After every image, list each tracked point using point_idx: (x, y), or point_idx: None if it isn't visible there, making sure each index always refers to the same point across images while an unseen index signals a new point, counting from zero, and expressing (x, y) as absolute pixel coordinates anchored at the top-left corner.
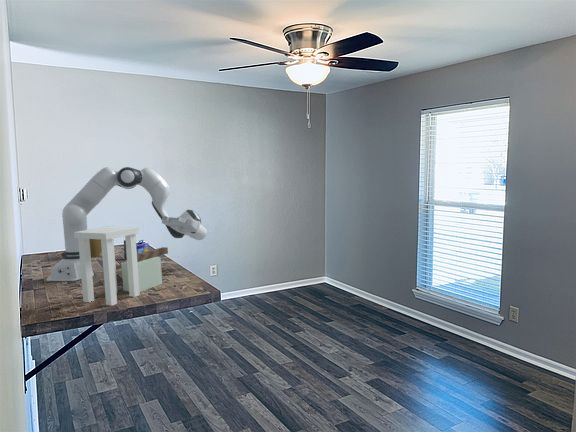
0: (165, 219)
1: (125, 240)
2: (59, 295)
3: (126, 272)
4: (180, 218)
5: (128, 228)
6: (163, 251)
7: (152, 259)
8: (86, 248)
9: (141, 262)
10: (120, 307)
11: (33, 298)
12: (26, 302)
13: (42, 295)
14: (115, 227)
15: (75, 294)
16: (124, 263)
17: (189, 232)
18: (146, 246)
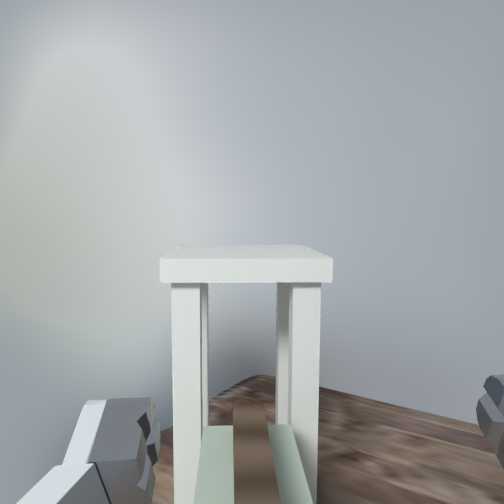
0: (497, 451)
1: (201, 300)
2: (433, 454)
3: None
4: (82, 436)
5: (184, 255)
6: None
7: (197, 496)
8: (277, 295)
9: (206, 445)
10: None
11: (456, 427)
12: (424, 412)
13: (475, 443)
14: (266, 256)
15: (403, 470)
16: (272, 425)
17: None
18: None
